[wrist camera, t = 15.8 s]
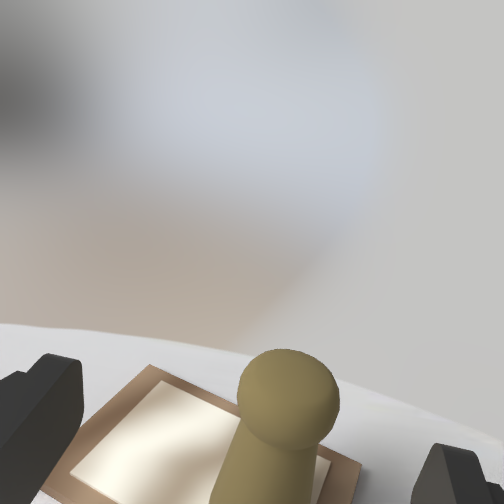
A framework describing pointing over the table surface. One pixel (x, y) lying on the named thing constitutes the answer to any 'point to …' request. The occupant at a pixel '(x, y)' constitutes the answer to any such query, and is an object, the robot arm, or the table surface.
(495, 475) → the table surface
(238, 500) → the cork
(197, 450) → the brown picture frame
